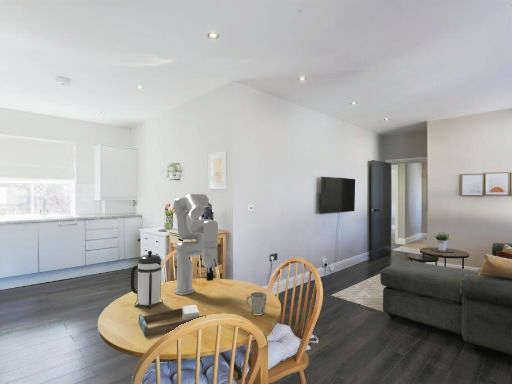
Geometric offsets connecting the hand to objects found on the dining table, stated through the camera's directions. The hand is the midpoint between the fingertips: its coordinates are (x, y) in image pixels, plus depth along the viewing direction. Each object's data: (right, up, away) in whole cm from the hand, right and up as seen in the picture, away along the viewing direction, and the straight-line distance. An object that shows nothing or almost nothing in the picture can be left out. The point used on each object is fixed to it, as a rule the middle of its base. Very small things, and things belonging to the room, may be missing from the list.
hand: (209, 280), depth 148 cm
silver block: (-9, -18, -5) cm, 21 cm away
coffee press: (-38, -18, +12) cm, 43 cm away
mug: (+23, -19, +3) cm, 30 cm away
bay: (-17, -18, -10) cm, 26 cm away
